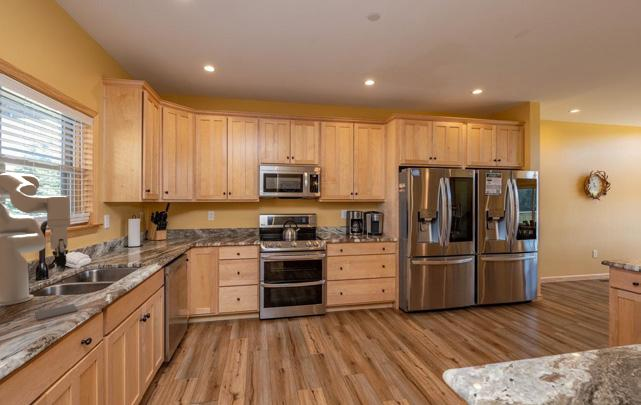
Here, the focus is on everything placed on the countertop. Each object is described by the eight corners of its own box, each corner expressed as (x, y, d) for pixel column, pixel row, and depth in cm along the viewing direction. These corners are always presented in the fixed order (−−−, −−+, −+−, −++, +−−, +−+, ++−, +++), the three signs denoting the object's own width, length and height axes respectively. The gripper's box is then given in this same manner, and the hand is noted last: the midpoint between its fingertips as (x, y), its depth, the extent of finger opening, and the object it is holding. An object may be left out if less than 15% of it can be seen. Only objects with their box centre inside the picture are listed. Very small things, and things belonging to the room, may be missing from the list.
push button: (70, 271, 125) (69, 249, 124) (53, 274, 121) (52, 251, 120) (68, 268, 129) (67, 247, 129) (52, 270, 125) (51, 248, 125)
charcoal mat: (35, 313, 117) (35, 311, 117) (73, 304, 126) (73, 303, 126) (37, 320, 109) (37, 319, 109) (77, 311, 118) (77, 310, 118)
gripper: (45, 223, 128) (47, 263, 128) (49, 224, 117) (51, 268, 117) (67, 222, 134) (68, 260, 134) (73, 223, 122) (74, 265, 122)
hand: (60, 263), depth 125 cm, fingers closed on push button, 4 cm apart
